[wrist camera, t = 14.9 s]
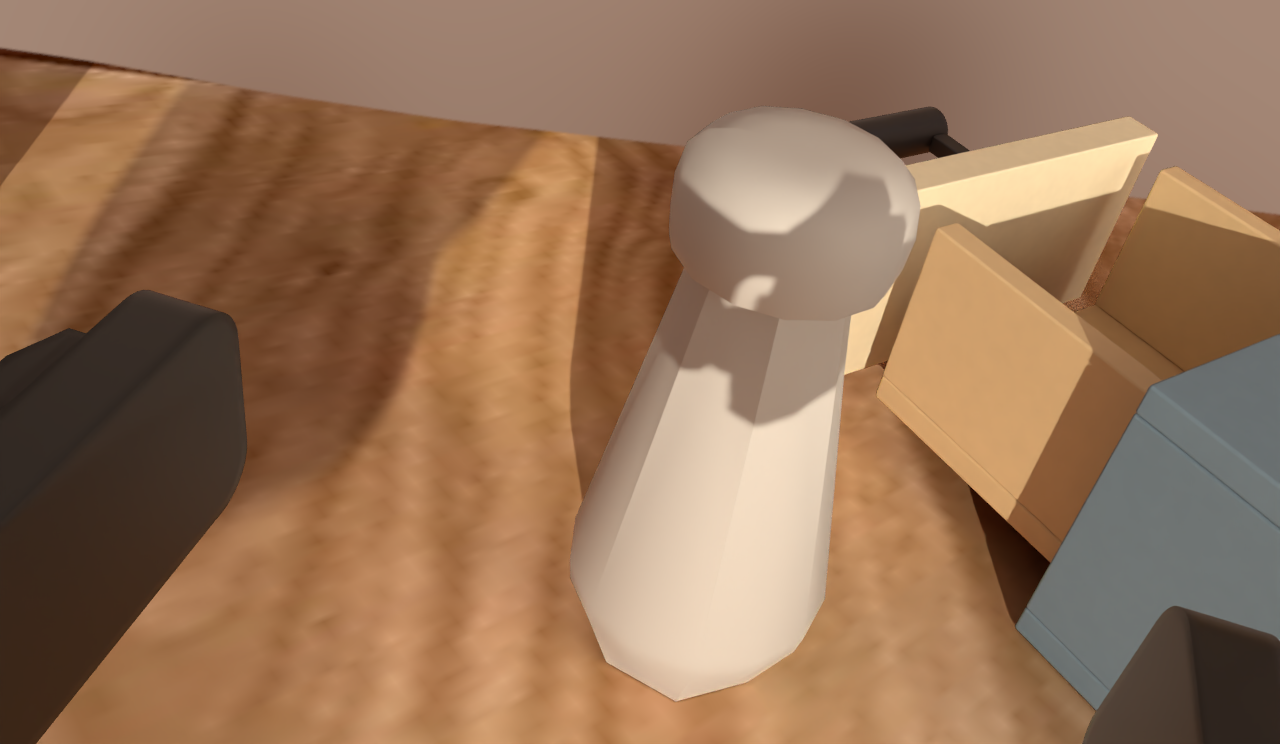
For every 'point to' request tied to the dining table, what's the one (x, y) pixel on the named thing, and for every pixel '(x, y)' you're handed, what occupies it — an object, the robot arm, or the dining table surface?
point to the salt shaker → (741, 401)
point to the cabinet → (1171, 523)
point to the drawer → (1053, 305)
